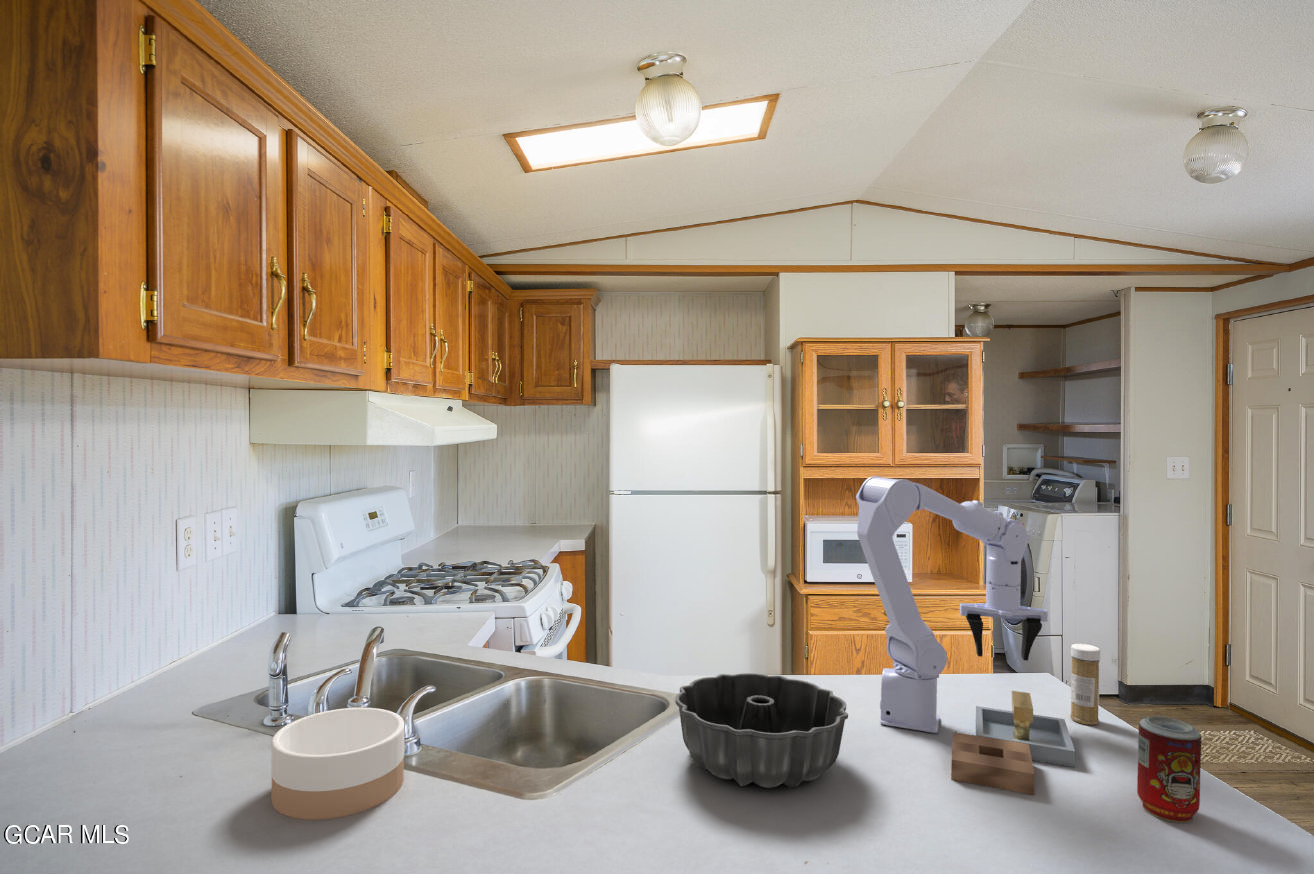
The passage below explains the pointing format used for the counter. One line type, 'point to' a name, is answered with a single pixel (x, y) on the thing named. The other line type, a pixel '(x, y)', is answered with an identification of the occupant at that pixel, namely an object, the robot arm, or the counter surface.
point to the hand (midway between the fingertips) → (1001, 657)
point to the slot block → (992, 763)
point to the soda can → (1169, 768)
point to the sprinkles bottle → (1085, 684)
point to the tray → (1045, 734)
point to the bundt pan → (761, 728)
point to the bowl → (337, 763)
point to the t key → (1022, 715)
